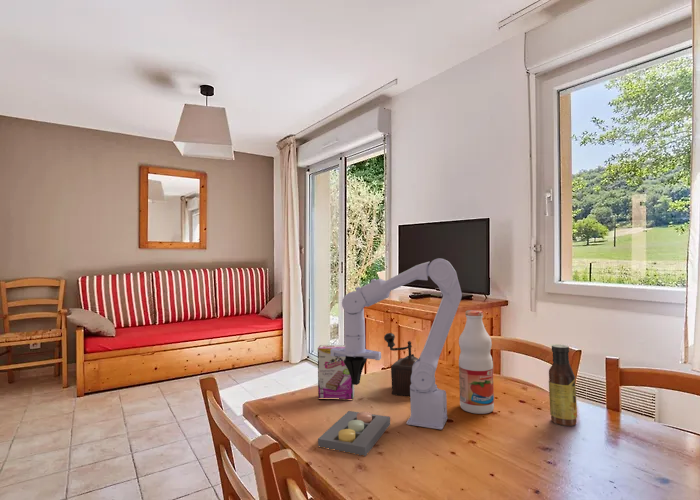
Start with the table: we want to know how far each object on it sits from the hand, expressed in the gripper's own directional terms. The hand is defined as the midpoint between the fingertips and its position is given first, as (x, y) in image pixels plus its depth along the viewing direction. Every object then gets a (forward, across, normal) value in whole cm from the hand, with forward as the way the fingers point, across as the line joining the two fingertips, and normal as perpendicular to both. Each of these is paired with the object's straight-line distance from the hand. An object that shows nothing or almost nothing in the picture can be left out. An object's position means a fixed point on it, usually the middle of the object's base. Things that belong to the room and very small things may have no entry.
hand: (356, 383), depth 111 cm
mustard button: (+9, +4, -16) cm, 18 cm away
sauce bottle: (+10, +52, +16) cm, 55 cm away
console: (+9, +4, -10) cm, 14 cm away
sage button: (+9, +4, -10) cm, 14 cm away
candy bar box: (+10, -12, +12) cm, 19 cm away
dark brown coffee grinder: (+10, +6, +26) cm, 28 cm away
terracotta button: (+9, +4, -4) cm, 11 cm away
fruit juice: (+10, +30, +18) cm, 36 cm away
